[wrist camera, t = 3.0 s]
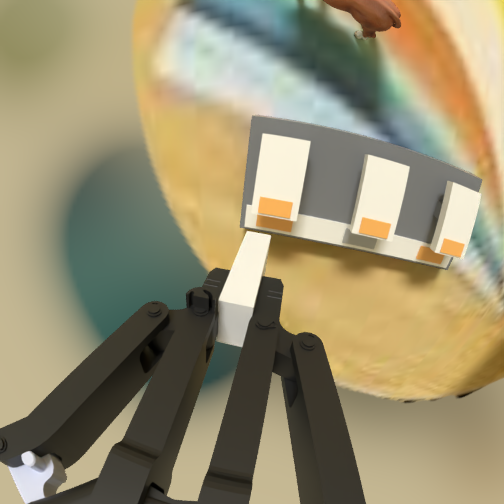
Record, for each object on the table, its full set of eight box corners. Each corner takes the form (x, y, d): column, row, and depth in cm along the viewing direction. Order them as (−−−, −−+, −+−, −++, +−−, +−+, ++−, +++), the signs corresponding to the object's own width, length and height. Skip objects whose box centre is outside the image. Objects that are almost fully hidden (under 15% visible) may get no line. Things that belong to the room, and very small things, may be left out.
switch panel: (473, 174, 22) (489, 183, 19) (441, 261, 28) (451, 277, 25) (255, 114, 25) (248, 116, 22) (243, 219, 31) (236, 233, 28)
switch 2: (475, 192, 20) (482, 194, 19) (457, 255, 23) (463, 260, 22) (447, 180, 21) (453, 182, 20) (429, 248, 23) (435, 252, 22)
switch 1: (310, 141, 22) (310, 141, 21) (296, 218, 25) (296, 221, 23) (264, 134, 23) (262, 133, 21) (252, 210, 25) (250, 213, 24)
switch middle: (404, 165, 21) (410, 166, 20) (388, 237, 24) (392, 242, 23) (365, 154, 22) (368, 154, 20) (349, 229, 24) (352, 233, 23)
